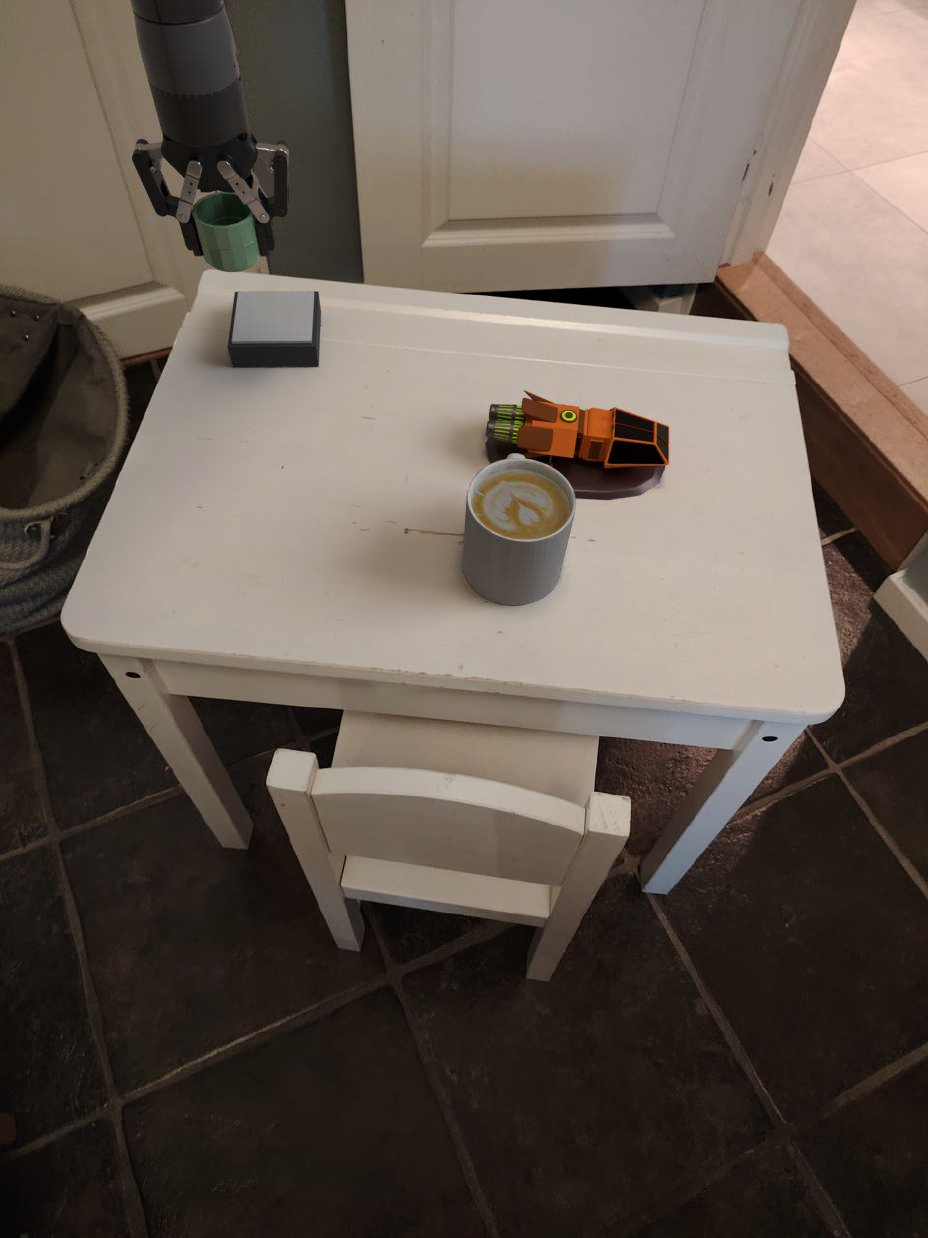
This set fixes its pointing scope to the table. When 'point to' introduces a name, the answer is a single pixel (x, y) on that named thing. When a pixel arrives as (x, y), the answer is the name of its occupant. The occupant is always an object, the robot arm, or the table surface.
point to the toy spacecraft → (582, 445)
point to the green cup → (226, 232)
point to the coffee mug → (516, 530)
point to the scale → (275, 329)
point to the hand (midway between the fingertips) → (233, 250)
